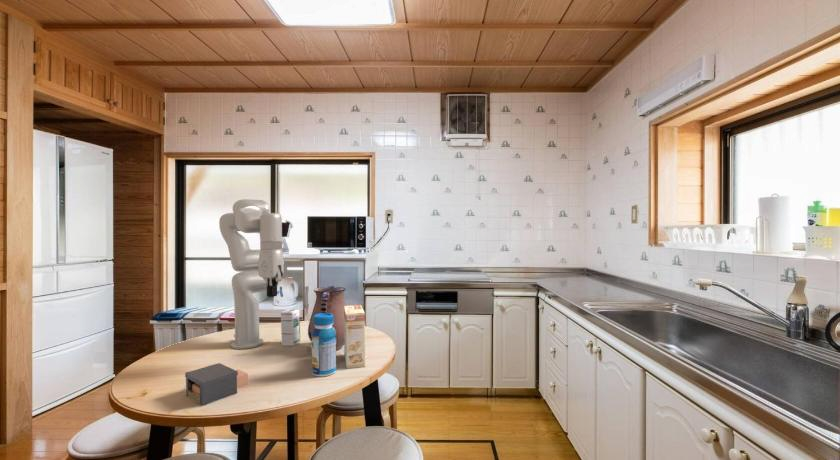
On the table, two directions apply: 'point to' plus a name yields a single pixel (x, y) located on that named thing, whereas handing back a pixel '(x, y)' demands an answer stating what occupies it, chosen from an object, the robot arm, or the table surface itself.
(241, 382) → the terracotta slab
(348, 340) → the coffeecake box
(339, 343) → the ceramic pitcher
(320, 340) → the beverage bottle
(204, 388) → the grey open-ended tunnel
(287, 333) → the syrup box
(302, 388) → the table surface
